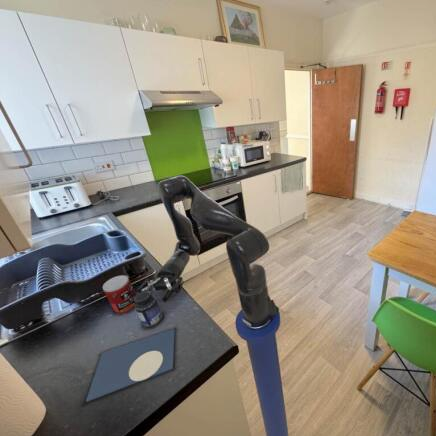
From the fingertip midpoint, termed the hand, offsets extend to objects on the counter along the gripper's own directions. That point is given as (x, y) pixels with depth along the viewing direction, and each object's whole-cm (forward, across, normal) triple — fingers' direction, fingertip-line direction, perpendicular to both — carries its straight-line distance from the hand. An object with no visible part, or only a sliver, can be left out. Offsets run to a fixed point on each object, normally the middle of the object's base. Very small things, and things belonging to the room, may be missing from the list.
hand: (151, 301), depth 80 cm
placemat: (+16, +2, +6) cm, 18 cm away
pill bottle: (+2, 0, +7) cm, 7 cm away
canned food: (-5, -14, +7) cm, 16 cm away
